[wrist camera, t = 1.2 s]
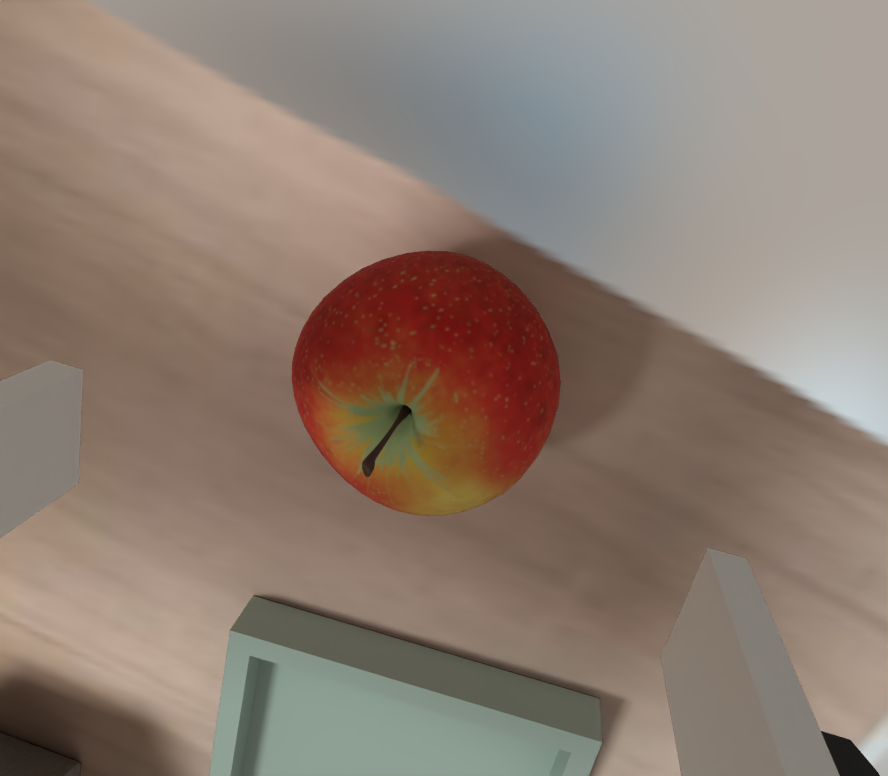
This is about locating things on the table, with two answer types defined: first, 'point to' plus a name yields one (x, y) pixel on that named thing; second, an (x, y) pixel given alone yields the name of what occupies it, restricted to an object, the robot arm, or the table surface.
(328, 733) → the dish
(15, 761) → the grey hexagonal block
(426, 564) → the table surface
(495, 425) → the apple
